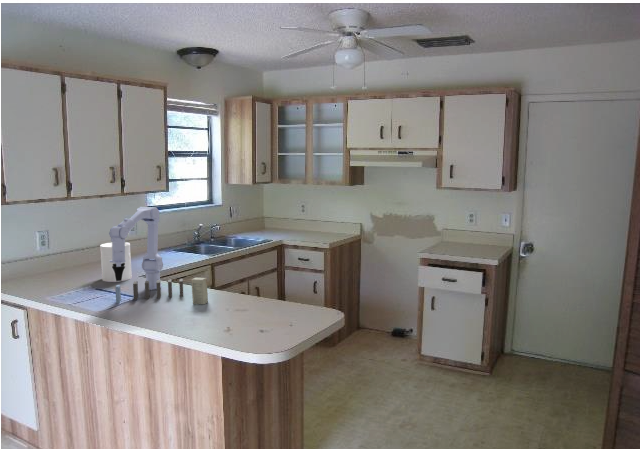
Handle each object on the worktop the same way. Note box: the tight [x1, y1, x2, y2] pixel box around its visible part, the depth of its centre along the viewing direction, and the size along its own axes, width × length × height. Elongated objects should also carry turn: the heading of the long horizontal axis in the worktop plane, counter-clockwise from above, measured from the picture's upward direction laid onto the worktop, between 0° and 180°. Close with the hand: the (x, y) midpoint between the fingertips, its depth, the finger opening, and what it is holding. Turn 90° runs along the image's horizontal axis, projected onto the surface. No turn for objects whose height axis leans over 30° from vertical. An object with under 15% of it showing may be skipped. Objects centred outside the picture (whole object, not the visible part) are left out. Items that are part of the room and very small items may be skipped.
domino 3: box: [144, 280, 151, 300], centre depth 250 cm, size 5×2×8 cm, turn 14°
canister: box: [99, 241, 133, 283], centre depth 287 cm, size 16×16×20 cm
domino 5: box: [167, 279, 173, 298], centre depth 253 cm, size 5×2×8 cm, turn 14°
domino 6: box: [178, 278, 184, 298], centre depth 254 cm, size 5×2×8 cm, turn 14°
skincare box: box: [191, 277, 209, 305], centre depth 241 cm, size 6×4×12 cm
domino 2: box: [132, 280, 139, 301], centre depth 249 cm, size 5×2×8 cm, turn 14°
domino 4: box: [156, 279, 162, 299], centre depth 251 cm, size 5×2×8 cm, turn 14°
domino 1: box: [114, 284, 122, 304], centre depth 242 cm, size 5×2×8 cm, turn 14°
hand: (118, 279), depth 240 cm, fingers open, 7 cm apart
